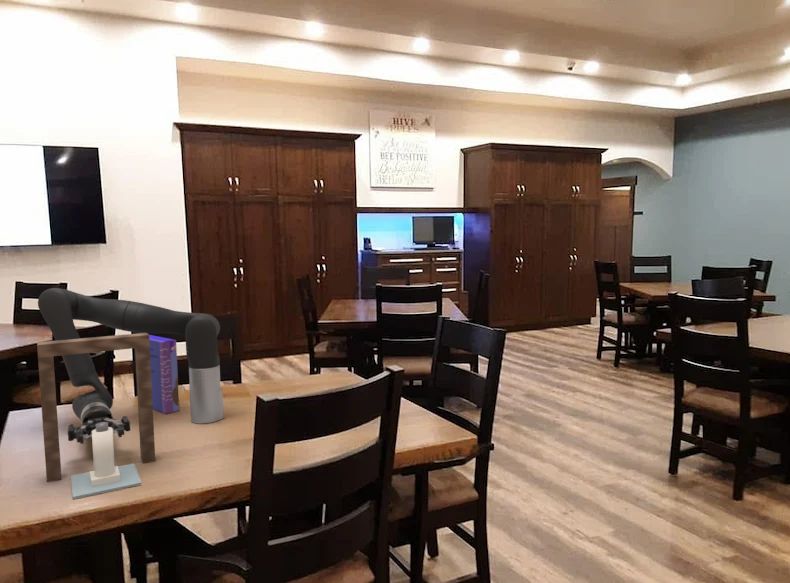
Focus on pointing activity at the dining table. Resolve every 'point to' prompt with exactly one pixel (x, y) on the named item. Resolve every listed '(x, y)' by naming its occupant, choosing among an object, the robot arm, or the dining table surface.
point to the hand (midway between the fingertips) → (101, 436)
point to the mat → (84, 488)
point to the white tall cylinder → (103, 456)
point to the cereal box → (164, 374)
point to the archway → (88, 346)
